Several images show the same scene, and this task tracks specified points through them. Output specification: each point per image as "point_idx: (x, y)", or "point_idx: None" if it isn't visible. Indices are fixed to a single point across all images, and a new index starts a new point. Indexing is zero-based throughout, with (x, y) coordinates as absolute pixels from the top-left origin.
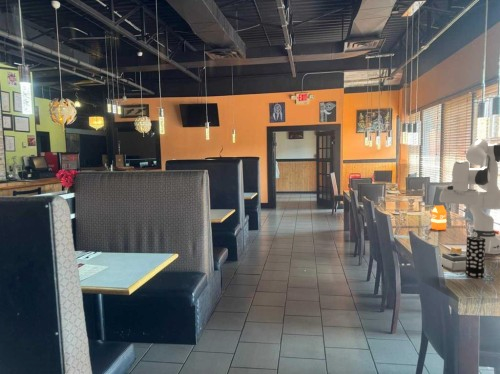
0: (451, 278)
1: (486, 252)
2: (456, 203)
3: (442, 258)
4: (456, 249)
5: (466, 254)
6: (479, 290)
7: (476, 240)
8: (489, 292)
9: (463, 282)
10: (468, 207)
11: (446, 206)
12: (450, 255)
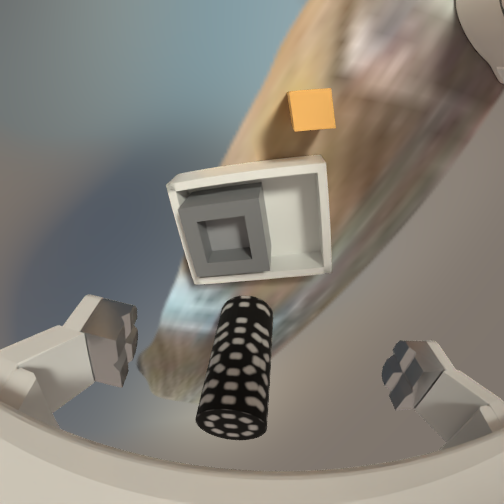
0: (167, 325)
1: (490, 62)
2: (288, 478)
3: (176, 222)
4: (300, 130)
5: (209, 362)
6: (201, 384)
7: (217, 435)
8: None
9: (187, 350)
10: (439, 434)
11: (40, 342)
12: (201, 246)
